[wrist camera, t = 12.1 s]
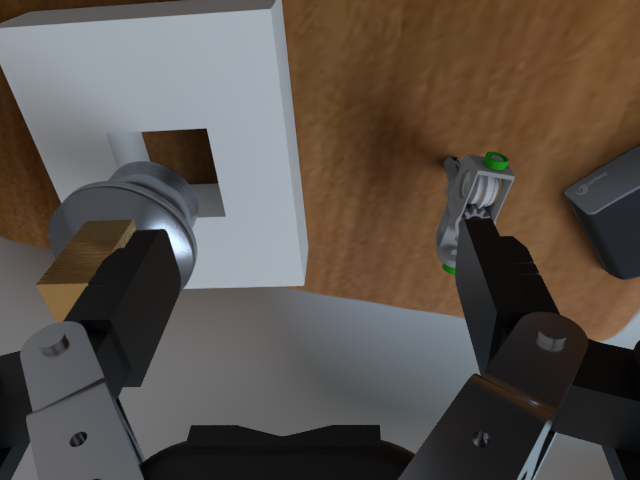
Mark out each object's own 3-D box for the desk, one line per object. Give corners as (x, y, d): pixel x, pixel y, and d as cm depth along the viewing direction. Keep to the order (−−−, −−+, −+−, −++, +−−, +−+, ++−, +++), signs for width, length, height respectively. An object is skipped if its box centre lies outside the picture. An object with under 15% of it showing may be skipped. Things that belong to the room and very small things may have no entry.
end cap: (72, 148, 34) (-41, 254, 25) (199, 142, 34) (137, 248, 24) (113, 253, 40) (35, 374, 30) (224, 249, 39) (182, 373, 29)
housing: (30, 11, 39) (-16, 29, 34) (280, -7, 37) (270, 8, 32) (123, 253, 53) (100, 290, 48) (308, 247, 51) (304, 285, 46)
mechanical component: (420, 208, 48) (436, 273, 39) (454, 107, 42) (480, 159, 34) (450, 212, 48) (471, 279, 40) (488, 113, 42) (521, 166, 34)
